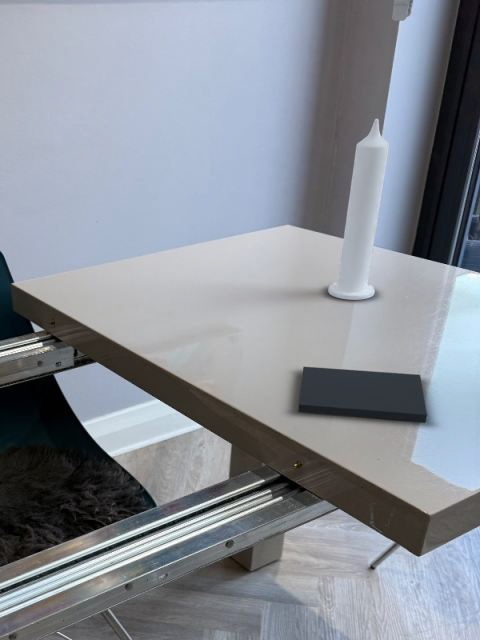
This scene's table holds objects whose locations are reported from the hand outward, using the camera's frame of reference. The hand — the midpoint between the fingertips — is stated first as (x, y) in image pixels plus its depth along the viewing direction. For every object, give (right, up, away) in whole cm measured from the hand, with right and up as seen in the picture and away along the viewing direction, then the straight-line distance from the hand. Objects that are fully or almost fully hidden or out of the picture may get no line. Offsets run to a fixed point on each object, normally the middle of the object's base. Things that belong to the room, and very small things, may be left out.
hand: (401, 18), depth 105 cm
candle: (0, -31, +20) cm, 37 cm away
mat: (-9, -52, -11) cm, 54 cm away
